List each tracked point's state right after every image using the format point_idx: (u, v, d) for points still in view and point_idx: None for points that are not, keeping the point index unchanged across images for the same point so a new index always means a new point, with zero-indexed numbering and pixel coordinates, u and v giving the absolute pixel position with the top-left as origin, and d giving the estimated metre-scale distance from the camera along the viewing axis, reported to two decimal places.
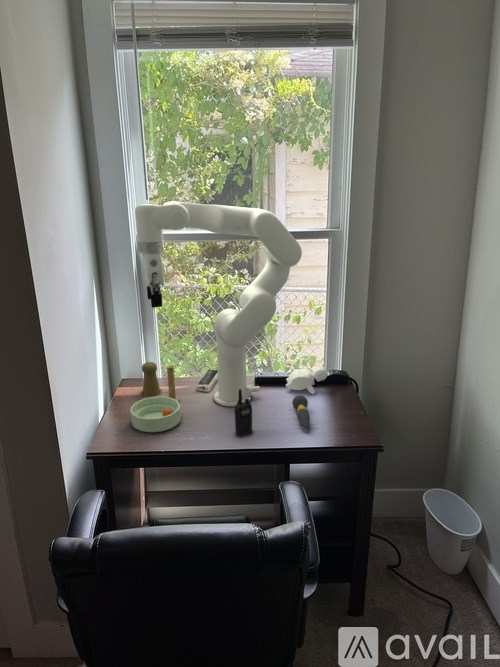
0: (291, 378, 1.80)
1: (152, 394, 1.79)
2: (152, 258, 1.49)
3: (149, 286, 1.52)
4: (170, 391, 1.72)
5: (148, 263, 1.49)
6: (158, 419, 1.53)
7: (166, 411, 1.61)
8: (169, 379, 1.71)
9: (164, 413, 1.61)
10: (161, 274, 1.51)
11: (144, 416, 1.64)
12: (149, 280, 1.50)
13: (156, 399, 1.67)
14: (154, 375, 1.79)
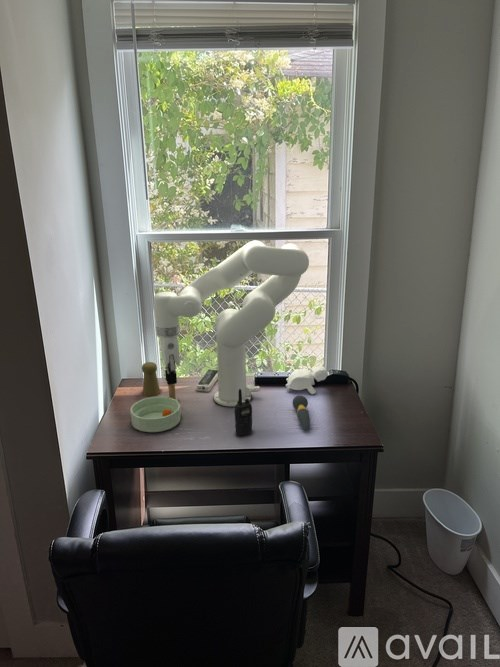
0: (291, 378, 1.80)
1: (152, 394, 1.79)
2: (169, 342, 1.63)
3: (166, 366, 1.65)
4: (170, 391, 1.72)
5: (166, 346, 1.63)
6: (158, 419, 1.53)
7: (166, 411, 1.61)
8: None
9: (164, 413, 1.61)
10: (177, 355, 1.65)
11: (144, 416, 1.64)
12: (166, 361, 1.64)
13: (156, 399, 1.67)
14: (154, 375, 1.79)
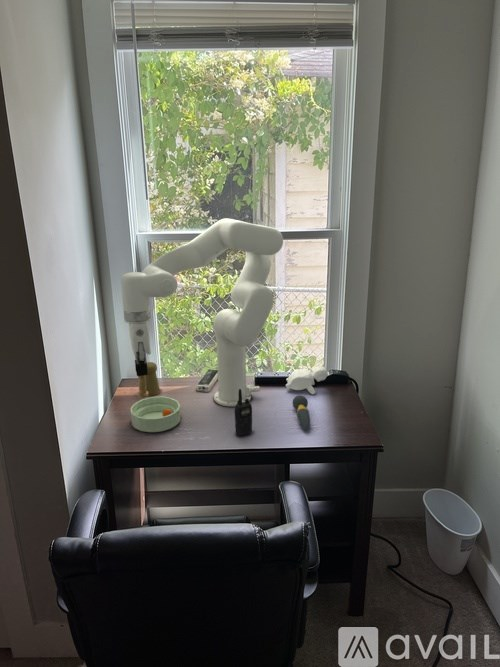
0: (291, 378, 1.80)
1: (152, 394, 1.79)
2: (138, 328, 1.46)
3: (135, 355, 1.49)
4: (140, 383, 1.55)
5: (134, 333, 1.46)
6: (158, 419, 1.53)
7: (166, 411, 1.61)
8: None
9: (164, 413, 1.61)
10: (147, 343, 1.48)
11: (144, 416, 1.64)
12: (135, 350, 1.47)
13: (156, 399, 1.67)
14: (154, 375, 1.79)
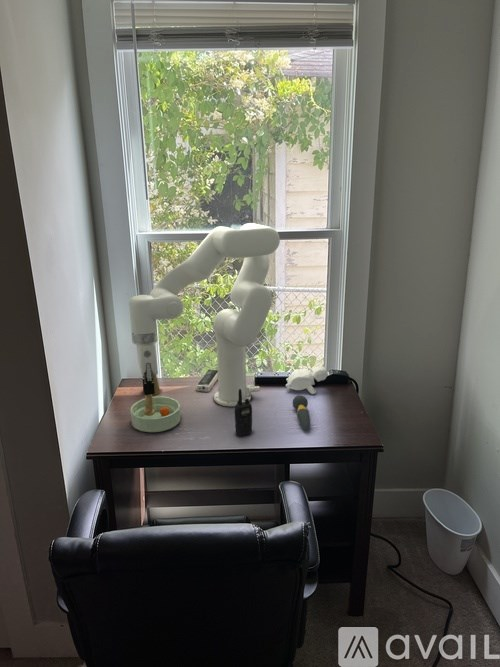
0: (291, 378, 1.80)
1: (152, 394, 1.79)
2: (146, 349, 1.50)
3: (143, 375, 1.53)
4: (147, 402, 1.60)
5: (142, 354, 1.50)
6: (158, 419, 1.53)
7: (163, 410, 1.62)
8: None
9: (161, 409, 1.63)
10: (155, 364, 1.52)
11: (144, 416, 1.64)
12: (143, 370, 1.52)
13: (156, 399, 1.67)
14: (154, 375, 1.79)
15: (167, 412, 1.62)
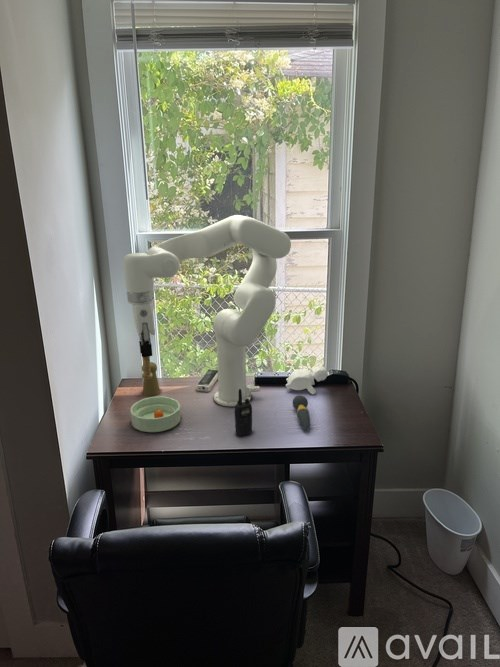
0: (291, 378, 1.80)
1: (152, 394, 1.79)
2: (142, 308, 1.46)
3: (139, 336, 1.49)
4: (144, 365, 1.56)
5: (138, 313, 1.46)
6: (158, 419, 1.53)
7: None
8: None
9: None
10: (151, 324, 1.48)
11: (144, 416, 1.64)
12: (139, 330, 1.48)
13: (156, 399, 1.67)
14: (154, 375, 1.79)
15: None
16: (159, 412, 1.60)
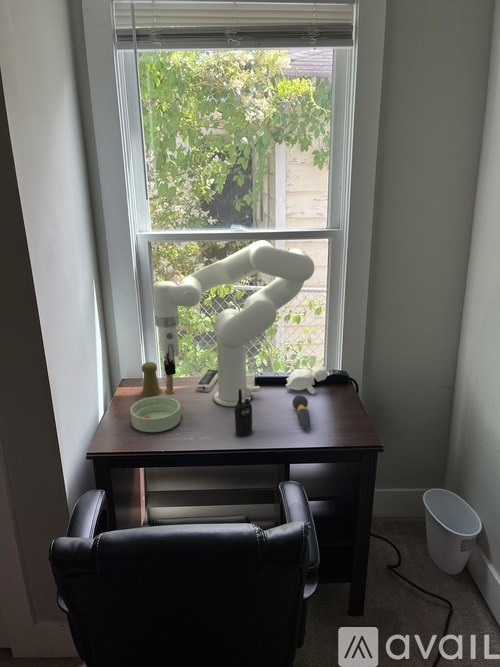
0: (291, 378, 1.80)
1: (152, 394, 1.79)
2: (168, 332, 1.62)
3: (165, 356, 1.64)
4: (168, 382, 1.71)
5: (165, 336, 1.62)
6: (158, 419, 1.53)
7: (149, 417, 1.58)
8: None
9: (147, 416, 1.58)
10: (176, 346, 1.63)
11: (144, 416, 1.64)
12: (165, 351, 1.63)
13: (156, 399, 1.67)
14: (154, 375, 1.79)
15: None
16: None
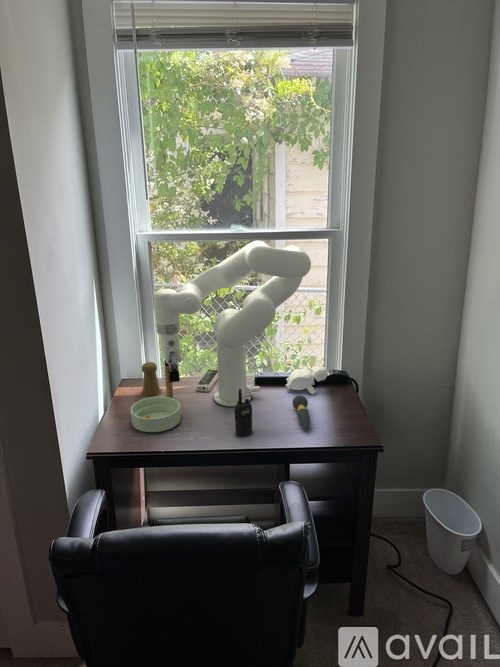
0: (291, 378, 1.80)
1: (152, 394, 1.79)
2: (170, 339, 1.63)
3: (167, 363, 1.65)
4: (168, 391, 1.72)
5: (166, 344, 1.63)
6: (158, 419, 1.53)
7: (150, 417, 1.58)
8: (167, 379, 1.71)
9: None
10: (178, 353, 1.64)
11: (144, 416, 1.64)
12: (167, 358, 1.64)
13: (156, 399, 1.67)
14: (154, 375, 1.79)
15: None
16: None
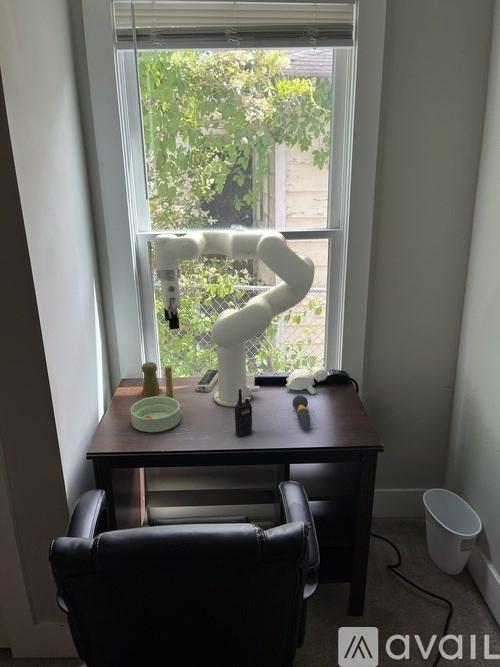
0: (291, 378, 1.80)
1: (152, 394, 1.79)
2: (170, 284, 1.61)
3: (167, 310, 1.64)
4: (168, 391, 1.72)
5: (166, 289, 1.61)
6: (158, 419, 1.53)
7: (151, 417, 1.58)
8: (167, 379, 1.71)
9: None
10: (178, 299, 1.63)
11: (144, 416, 1.64)
12: (167, 304, 1.62)
13: (156, 399, 1.67)
14: (154, 375, 1.79)
15: None
16: None
